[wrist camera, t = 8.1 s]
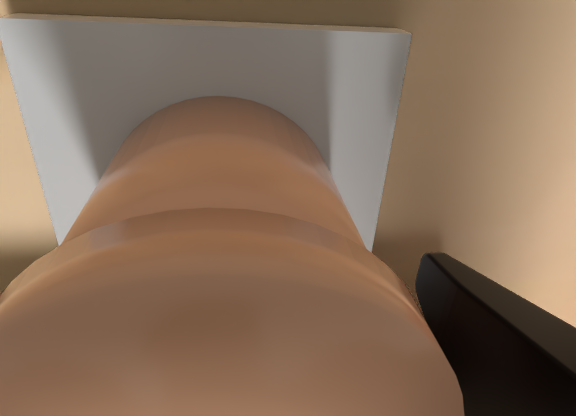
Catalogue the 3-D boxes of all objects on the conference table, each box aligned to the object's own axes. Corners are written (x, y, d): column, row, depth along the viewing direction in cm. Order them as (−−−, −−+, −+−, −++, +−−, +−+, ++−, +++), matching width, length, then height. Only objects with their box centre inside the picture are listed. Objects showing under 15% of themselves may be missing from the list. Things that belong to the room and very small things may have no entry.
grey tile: (352, 296, 15) (359, 315, 14) (91, 308, 14) (82, 330, 13) (397, 27, 10) (412, 33, 10) (16, 13, 9) (-6, 17, 8)
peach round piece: (328, 291, 13) (408, 555, 7) (116, 300, 13) (12, 608, 7) (356, 85, 10) (539, 263, 4) (70, 79, 9) (-226, 291, 3)
